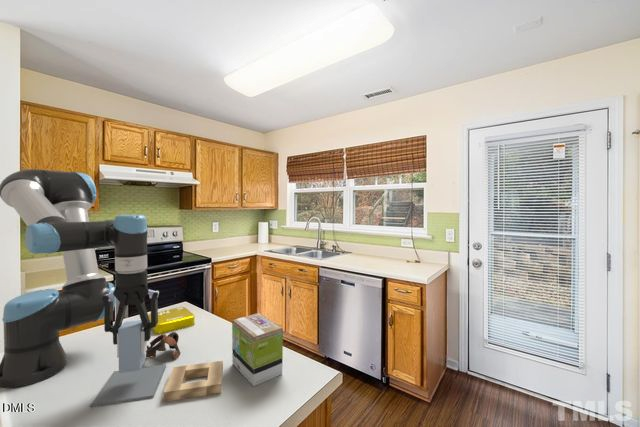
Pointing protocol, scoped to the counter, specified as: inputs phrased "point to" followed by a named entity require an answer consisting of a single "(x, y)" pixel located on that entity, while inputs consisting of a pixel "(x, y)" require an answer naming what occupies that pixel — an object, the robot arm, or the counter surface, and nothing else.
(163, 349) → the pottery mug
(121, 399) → the plate
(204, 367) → the holder
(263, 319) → the tea box
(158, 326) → the element tile
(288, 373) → the counter surface
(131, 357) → the part
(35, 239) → the robot arm
